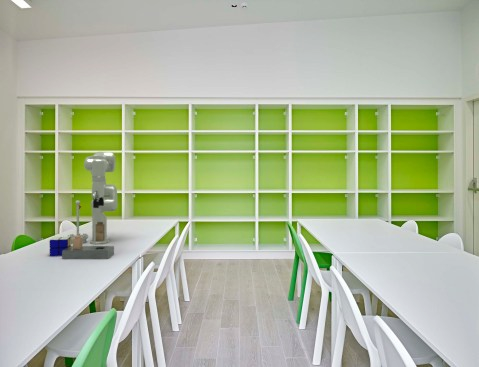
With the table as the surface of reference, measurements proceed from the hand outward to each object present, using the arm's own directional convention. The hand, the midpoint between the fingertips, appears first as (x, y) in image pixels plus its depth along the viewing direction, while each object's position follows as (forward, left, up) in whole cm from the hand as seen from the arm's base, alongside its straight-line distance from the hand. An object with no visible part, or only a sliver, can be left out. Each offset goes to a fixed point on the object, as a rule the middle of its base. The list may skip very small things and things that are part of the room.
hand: (98, 206), depth 219 cm
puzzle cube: (+4, -21, -29) cm, 36 cm away
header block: (+10, -2, -29) cm, 31 cm away
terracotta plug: (+10, -9, -28) cm, 31 cm away
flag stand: (-31, -24, -29) cm, 49 cm away
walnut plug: (+10, +4, -19) cm, 22 cm away
